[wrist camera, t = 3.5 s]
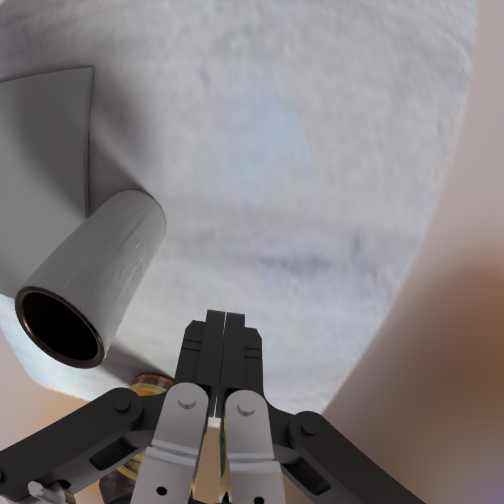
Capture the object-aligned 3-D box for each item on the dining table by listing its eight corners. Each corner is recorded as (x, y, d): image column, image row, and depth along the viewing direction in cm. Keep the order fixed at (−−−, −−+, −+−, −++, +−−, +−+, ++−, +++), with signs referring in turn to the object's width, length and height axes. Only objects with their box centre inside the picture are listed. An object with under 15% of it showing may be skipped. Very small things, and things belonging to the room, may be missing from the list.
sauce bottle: (198, 389, 27) (179, 570, 10) (169, 406, 30) (146, 559, 13) (143, 360, 25) (97, 554, 8) (120, 382, 28) (79, 541, 10)
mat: (-27, 91, 12) (-32, 92, 11) (94, 67, 13) (89, 67, 12) (1, 289, 21) (-2, 293, 21) (104, 320, 23) (102, 325, 22)
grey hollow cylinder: (123, 258, 19) (57, 371, 11) (94, 202, 17) (-2, 298, 8) (177, 240, 19) (126, 367, 10) (149, 178, 17) (56, 275, 8)
